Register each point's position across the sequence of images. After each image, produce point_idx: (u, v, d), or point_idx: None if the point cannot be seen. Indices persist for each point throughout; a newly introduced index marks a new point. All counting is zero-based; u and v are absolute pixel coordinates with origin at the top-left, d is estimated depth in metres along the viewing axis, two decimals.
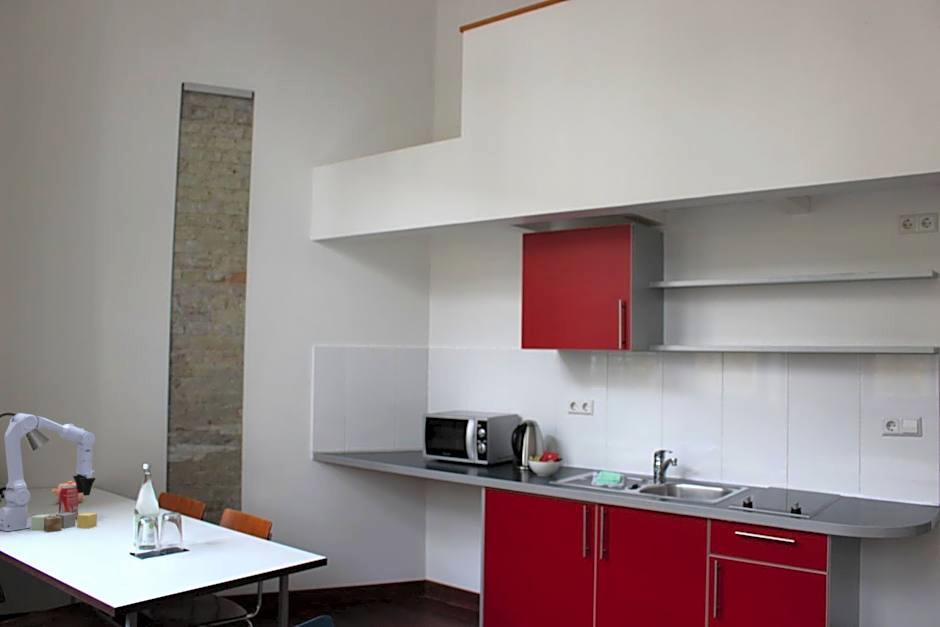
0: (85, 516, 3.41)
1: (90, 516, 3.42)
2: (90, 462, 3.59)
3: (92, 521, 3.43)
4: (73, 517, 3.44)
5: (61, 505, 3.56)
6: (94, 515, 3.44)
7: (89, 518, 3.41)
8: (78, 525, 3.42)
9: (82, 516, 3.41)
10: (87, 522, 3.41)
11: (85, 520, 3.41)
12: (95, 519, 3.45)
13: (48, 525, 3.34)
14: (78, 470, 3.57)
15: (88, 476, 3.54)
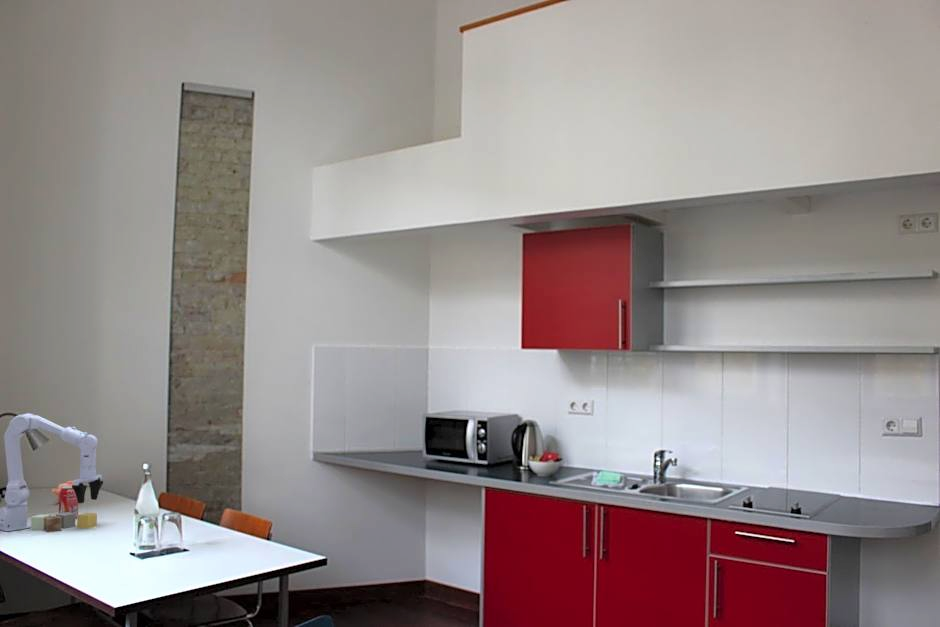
0: (85, 516, 3.41)
1: (90, 516, 3.42)
2: (87, 468, 3.42)
3: (92, 521, 3.43)
4: (73, 517, 3.44)
5: (61, 505, 3.56)
6: (94, 515, 3.44)
7: (89, 518, 3.41)
8: (78, 525, 3.42)
9: (82, 516, 3.41)
10: (87, 522, 3.41)
11: (85, 520, 3.41)
12: (95, 519, 3.45)
13: (48, 525, 3.34)
14: None
15: (73, 483, 3.37)
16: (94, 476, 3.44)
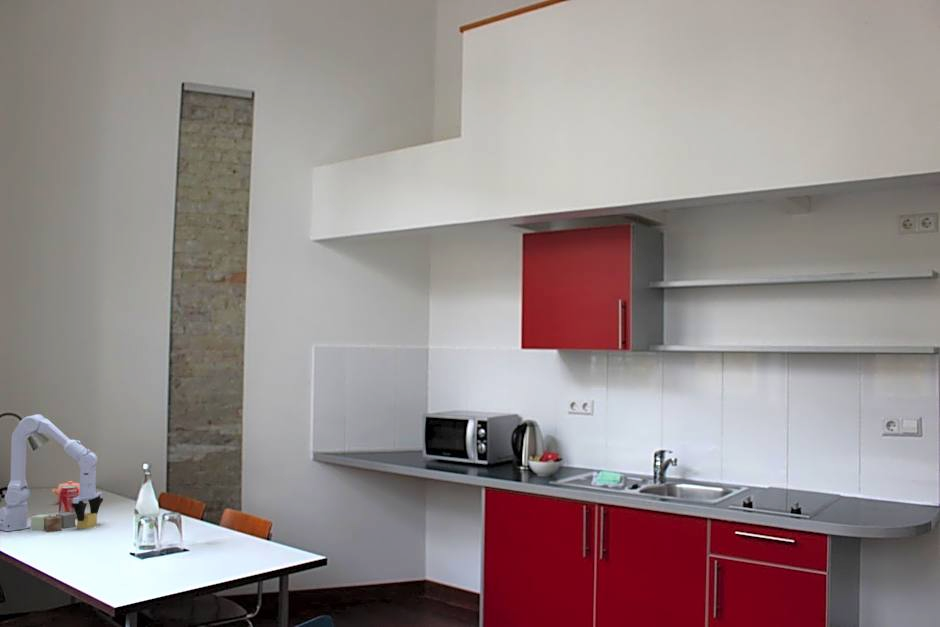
0: (85, 516, 3.41)
1: (90, 516, 3.42)
2: (87, 486, 3.41)
3: (92, 521, 3.43)
4: (73, 517, 3.44)
5: (61, 505, 3.56)
6: (94, 515, 3.44)
7: (88, 518, 3.41)
8: (78, 525, 3.42)
9: None
10: (87, 522, 3.41)
11: (85, 520, 3.41)
12: (95, 519, 3.45)
13: (48, 525, 3.34)
14: None
15: (73, 501, 3.37)
16: (94, 494, 3.43)
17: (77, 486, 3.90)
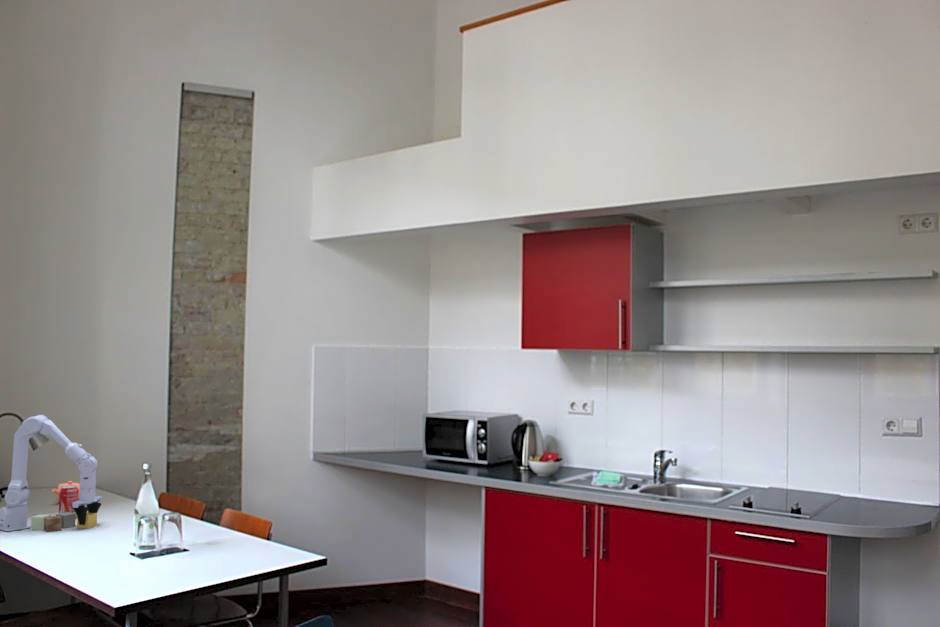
0: None
1: (90, 516, 3.42)
2: (87, 491, 3.41)
3: (92, 521, 3.43)
4: (73, 517, 3.44)
5: (61, 505, 3.56)
6: (94, 515, 3.44)
7: (89, 518, 3.41)
8: (78, 525, 3.42)
9: None
10: (87, 521, 3.41)
11: None
12: (95, 519, 3.45)
13: (48, 525, 3.34)
14: None
15: (73, 505, 3.37)
16: (94, 498, 3.43)
17: (77, 486, 3.90)
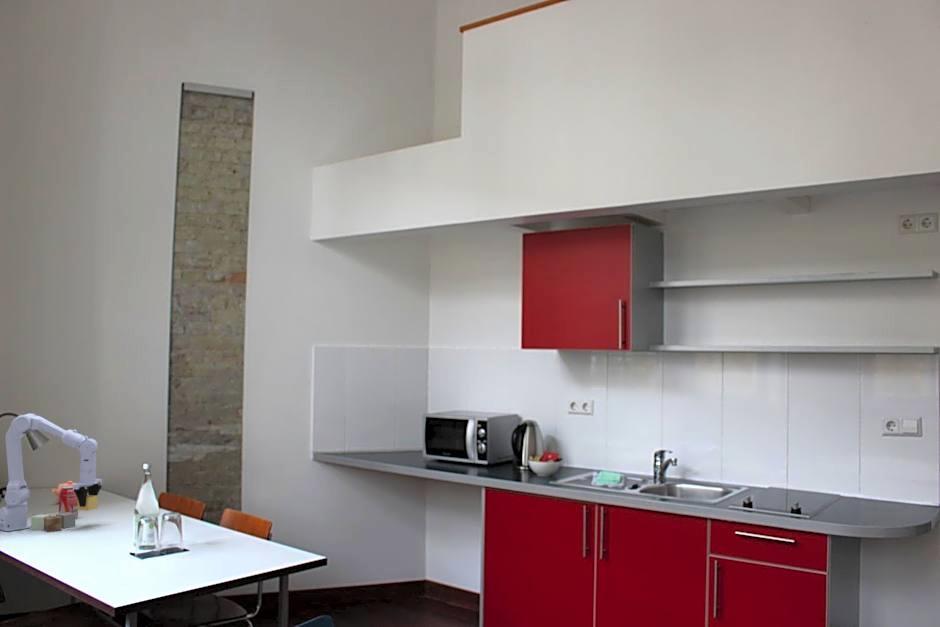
0: None
1: (90, 498, 3.42)
2: (87, 472, 3.42)
3: (92, 503, 3.43)
4: (73, 517, 3.44)
5: (61, 505, 3.56)
6: (94, 497, 3.44)
7: (89, 500, 3.41)
8: (78, 507, 3.42)
9: None
10: (87, 504, 3.41)
11: None
12: (95, 501, 3.45)
13: (48, 525, 3.34)
14: None
15: (73, 487, 3.37)
16: (94, 480, 3.44)
17: None
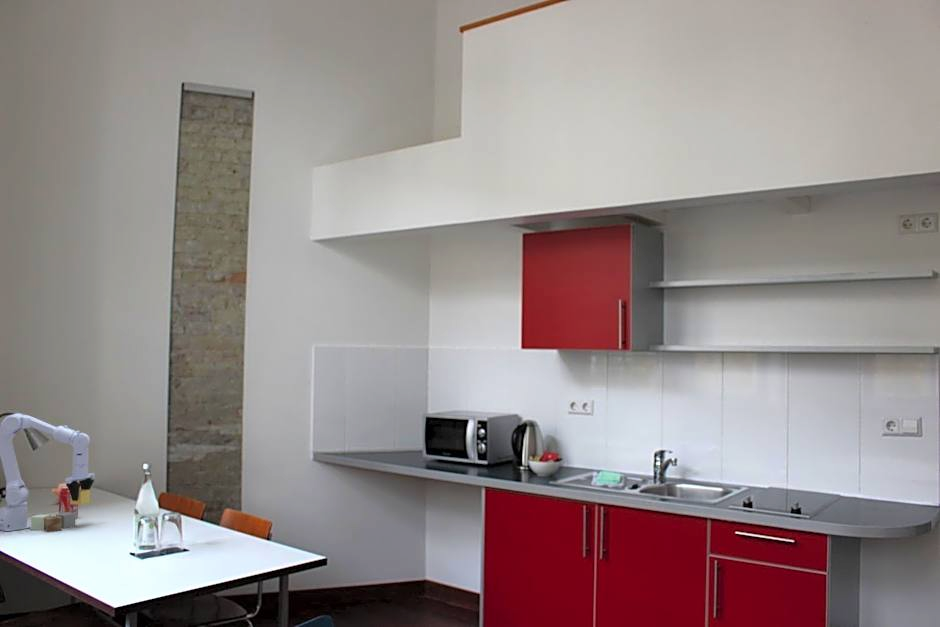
0: None
1: (83, 492, 3.43)
2: (80, 467, 3.43)
3: (85, 497, 3.44)
4: (73, 517, 3.44)
5: (61, 505, 3.56)
6: (87, 491, 3.46)
7: (82, 494, 3.42)
8: (71, 501, 3.43)
9: None
10: (80, 498, 3.42)
11: (78, 496, 3.42)
12: (88, 495, 3.46)
13: (48, 525, 3.34)
14: None
15: (66, 481, 3.38)
16: (86, 474, 3.45)
17: None
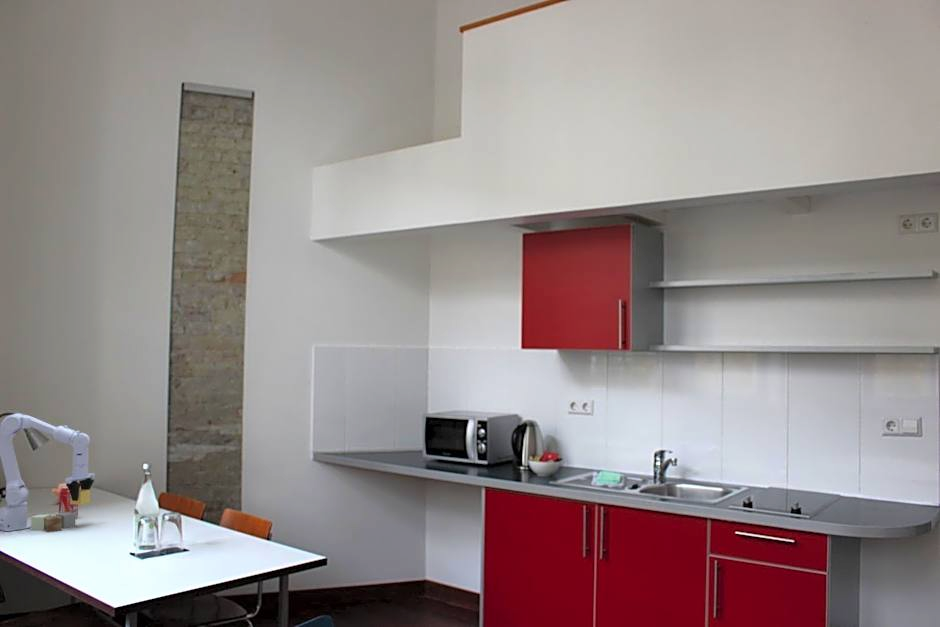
0: None
1: (83, 492, 3.43)
2: (80, 467, 3.43)
3: (85, 497, 3.44)
4: (73, 517, 3.44)
5: (61, 505, 3.56)
6: (87, 491, 3.46)
7: (82, 494, 3.42)
8: (71, 501, 3.43)
9: None
10: (80, 498, 3.42)
11: (78, 496, 3.42)
12: (88, 495, 3.46)
13: (48, 525, 3.34)
14: None
15: (66, 481, 3.38)
16: (86, 474, 3.45)
17: None
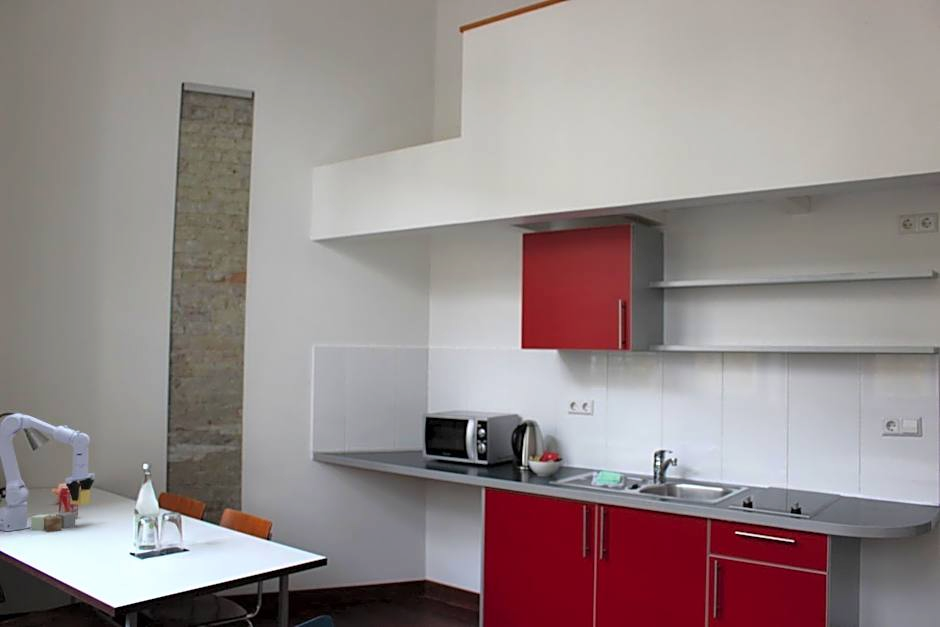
0: None
1: (83, 492, 3.43)
2: (80, 467, 3.43)
3: (85, 497, 3.44)
4: (73, 517, 3.44)
5: (61, 505, 3.56)
6: (87, 491, 3.46)
7: (82, 494, 3.42)
8: (71, 501, 3.43)
9: None
10: (80, 498, 3.42)
11: (78, 496, 3.42)
12: (88, 495, 3.46)
13: (48, 525, 3.34)
14: None
15: (66, 481, 3.38)
16: (86, 474, 3.45)
17: None
